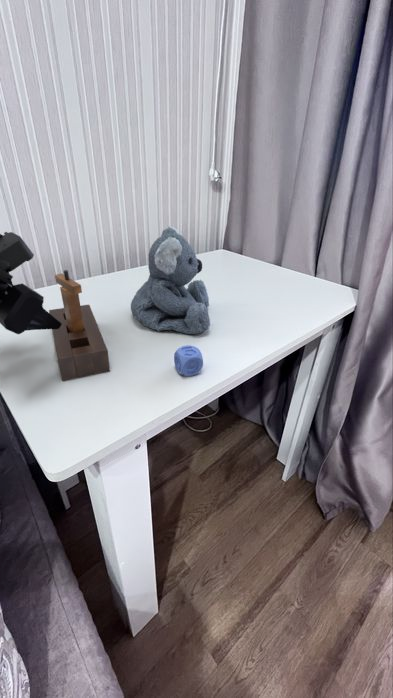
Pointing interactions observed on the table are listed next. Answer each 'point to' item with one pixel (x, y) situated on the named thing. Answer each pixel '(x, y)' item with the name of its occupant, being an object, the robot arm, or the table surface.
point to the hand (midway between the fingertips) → (47, 316)
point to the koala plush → (172, 288)
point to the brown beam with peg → (71, 301)
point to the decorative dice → (188, 360)
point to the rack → (79, 347)
